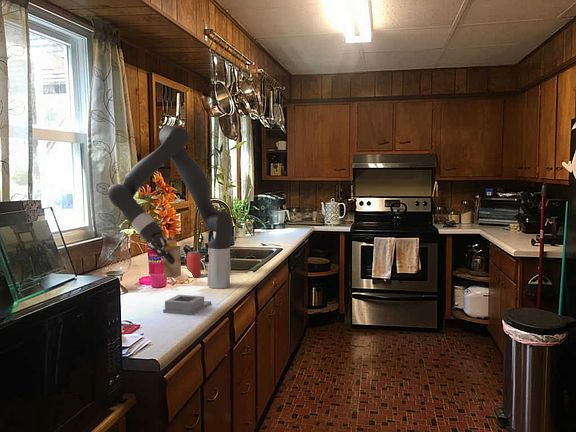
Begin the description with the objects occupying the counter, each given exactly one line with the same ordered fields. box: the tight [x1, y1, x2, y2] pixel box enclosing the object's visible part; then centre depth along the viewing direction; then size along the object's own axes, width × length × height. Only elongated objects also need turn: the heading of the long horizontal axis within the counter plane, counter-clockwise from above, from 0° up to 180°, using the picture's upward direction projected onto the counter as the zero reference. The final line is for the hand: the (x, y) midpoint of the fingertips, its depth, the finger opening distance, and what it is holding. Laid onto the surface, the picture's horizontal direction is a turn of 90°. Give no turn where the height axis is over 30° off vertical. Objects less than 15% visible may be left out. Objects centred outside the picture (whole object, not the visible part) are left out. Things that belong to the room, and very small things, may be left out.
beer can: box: [186, 250, 202, 279], centre depth 246 cm, size 7×7×12 cm
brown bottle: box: [162, 240, 182, 279], centre depth 188 cm, size 4×4×13 cm
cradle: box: [162, 294, 212, 316], centre depth 190 cm, size 12×16×4 cm
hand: (176, 261), depth 188 cm, fingers closed on brown bottle, 4 cm apart
